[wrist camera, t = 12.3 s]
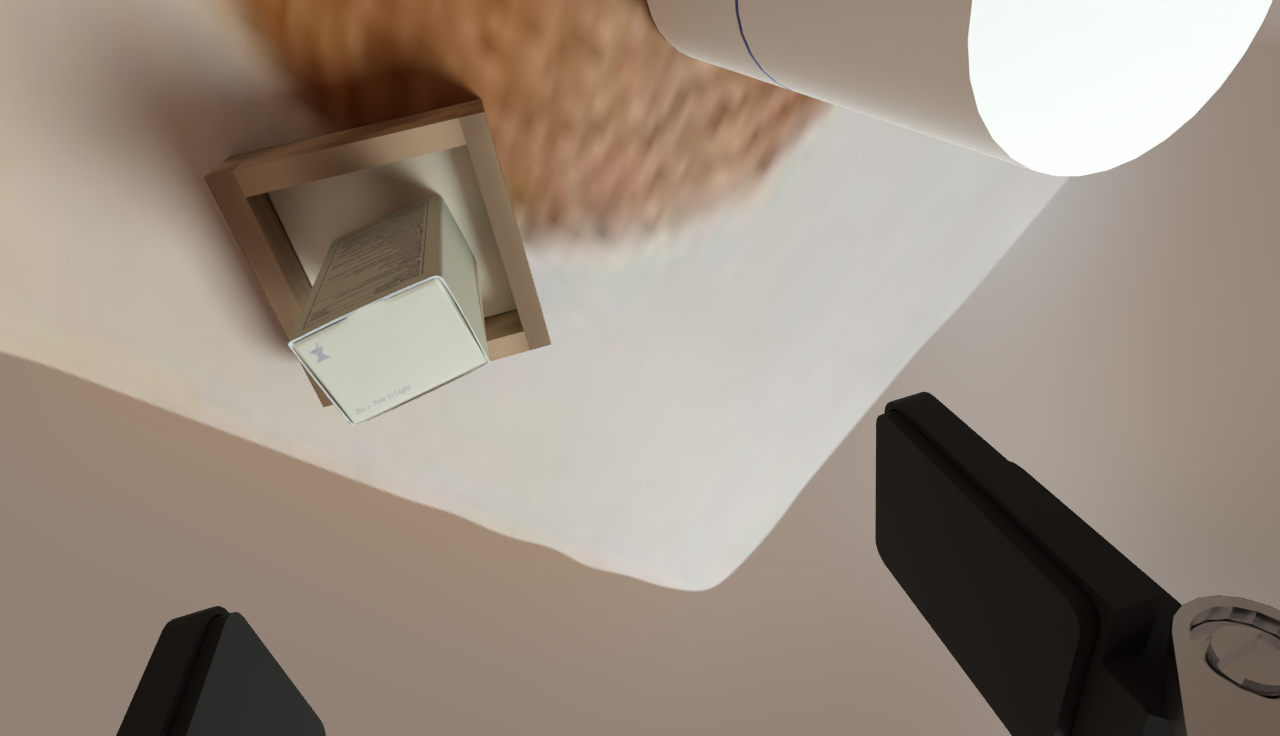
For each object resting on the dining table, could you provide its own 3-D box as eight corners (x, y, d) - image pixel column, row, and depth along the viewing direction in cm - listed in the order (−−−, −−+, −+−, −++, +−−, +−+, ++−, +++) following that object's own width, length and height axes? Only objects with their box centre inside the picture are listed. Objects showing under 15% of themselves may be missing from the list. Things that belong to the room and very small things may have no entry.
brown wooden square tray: (481, 98, 34) (484, 111, 31) (542, 314, 41) (550, 344, 38) (228, 157, 33) (204, 177, 30) (334, 370, 40) (323, 407, 36)
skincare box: (376, 308, 37) (348, 434, 27) (328, 236, 35) (278, 345, 25) (482, 260, 37) (494, 368, 27) (442, 186, 35) (439, 273, 25)
